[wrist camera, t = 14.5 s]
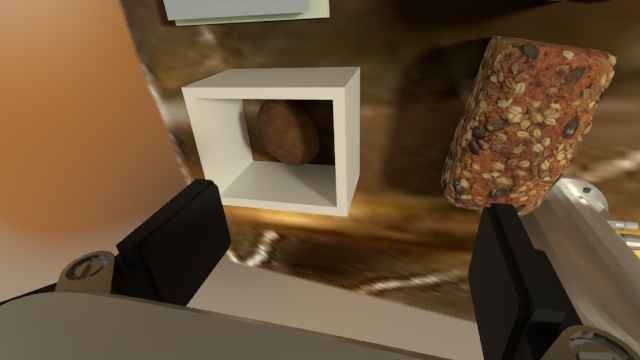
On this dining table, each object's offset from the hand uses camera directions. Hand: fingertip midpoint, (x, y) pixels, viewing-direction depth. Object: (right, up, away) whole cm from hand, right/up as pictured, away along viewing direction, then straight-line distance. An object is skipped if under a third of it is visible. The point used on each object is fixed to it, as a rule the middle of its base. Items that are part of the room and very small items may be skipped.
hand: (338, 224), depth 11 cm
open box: (-4, +10, +35) cm, 36 cm away
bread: (+22, +9, +28) cm, 37 cm away
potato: (-4, +10, +35) cm, 37 cm away
